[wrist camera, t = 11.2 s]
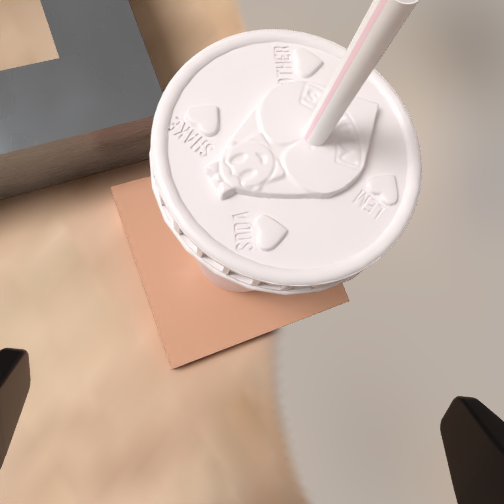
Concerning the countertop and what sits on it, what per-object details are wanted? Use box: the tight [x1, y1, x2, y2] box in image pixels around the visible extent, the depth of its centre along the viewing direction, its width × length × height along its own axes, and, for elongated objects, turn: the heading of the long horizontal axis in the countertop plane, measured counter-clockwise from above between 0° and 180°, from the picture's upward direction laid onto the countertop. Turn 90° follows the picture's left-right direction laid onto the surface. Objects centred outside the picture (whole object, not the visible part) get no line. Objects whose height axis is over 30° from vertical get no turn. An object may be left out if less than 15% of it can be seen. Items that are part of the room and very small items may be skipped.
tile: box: [111, 176, 349, 369], centre depth 20 cm, size 8×8×1 cm
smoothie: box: [149, 0, 422, 295], centre depth 13 cm, size 6×6×14 cm
